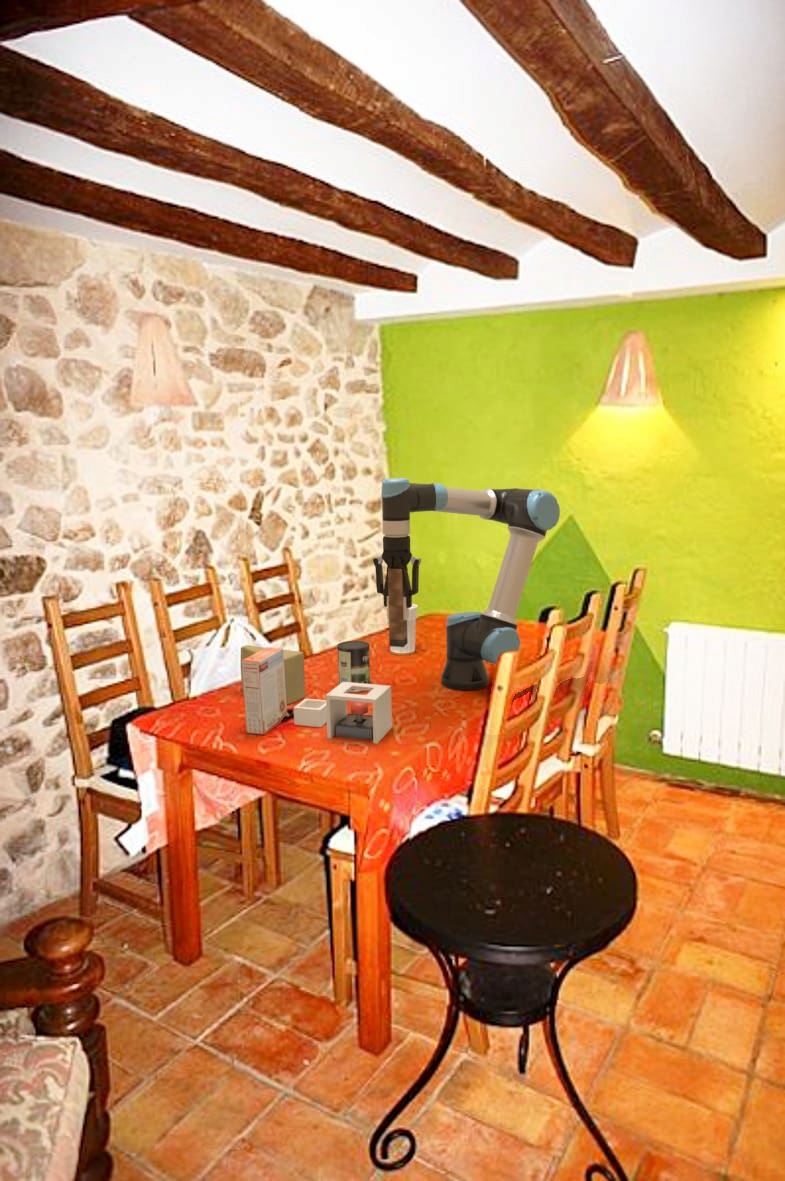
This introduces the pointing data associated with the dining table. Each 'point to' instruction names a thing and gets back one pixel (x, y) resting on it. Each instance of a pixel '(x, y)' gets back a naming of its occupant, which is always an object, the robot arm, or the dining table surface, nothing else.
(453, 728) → the dining table surface
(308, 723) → the holder
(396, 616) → the brown wooden dowel
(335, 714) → the guard
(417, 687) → the dining table surface
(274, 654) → the cracker box
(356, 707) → the red round piece
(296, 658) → the beige block
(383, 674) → the dining table surface
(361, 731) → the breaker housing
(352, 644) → the coffee can
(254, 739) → the dining table surface
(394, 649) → the cup
